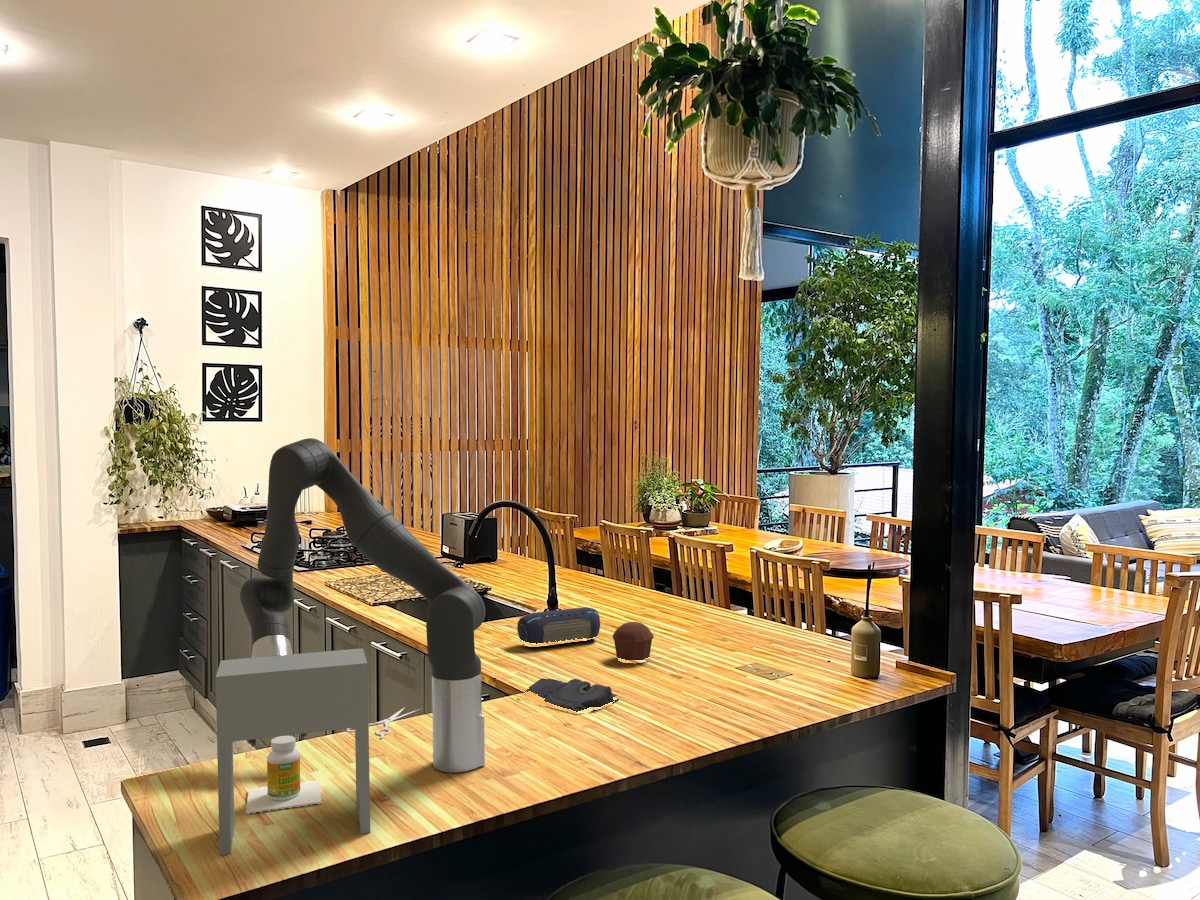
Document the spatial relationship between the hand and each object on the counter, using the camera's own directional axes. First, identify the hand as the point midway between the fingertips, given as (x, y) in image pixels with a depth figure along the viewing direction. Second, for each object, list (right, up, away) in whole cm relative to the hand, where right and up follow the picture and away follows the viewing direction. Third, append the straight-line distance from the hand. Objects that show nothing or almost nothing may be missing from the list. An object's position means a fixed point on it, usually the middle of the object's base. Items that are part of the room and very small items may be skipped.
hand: (278, 740), depth 167 cm
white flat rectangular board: (+5, -6, -10) cm, 13 cm away
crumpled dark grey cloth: (+52, -5, +44) cm, 68 cm away
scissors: (+13, -6, +29) cm, 33 cm away
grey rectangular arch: (+11, -7, -23) cm, 27 cm away
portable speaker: (+48, -3, +97) cm, 109 cm away
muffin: (+68, -4, +79) cm, 104 cm away
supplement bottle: (+5, -6, -10) cm, 13 cm away
